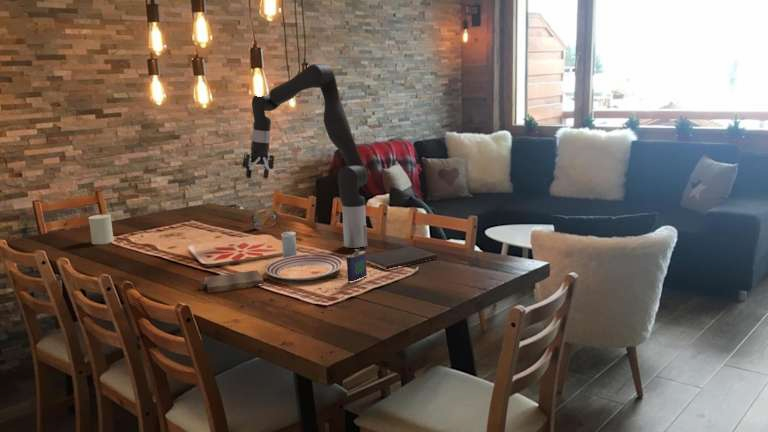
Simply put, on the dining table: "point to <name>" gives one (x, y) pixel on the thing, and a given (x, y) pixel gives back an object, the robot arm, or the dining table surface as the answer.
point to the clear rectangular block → (263, 219)
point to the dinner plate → (304, 264)
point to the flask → (356, 265)
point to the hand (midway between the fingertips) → (257, 178)
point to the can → (101, 229)
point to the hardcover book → (400, 257)
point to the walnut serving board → (231, 281)
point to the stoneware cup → (289, 244)
